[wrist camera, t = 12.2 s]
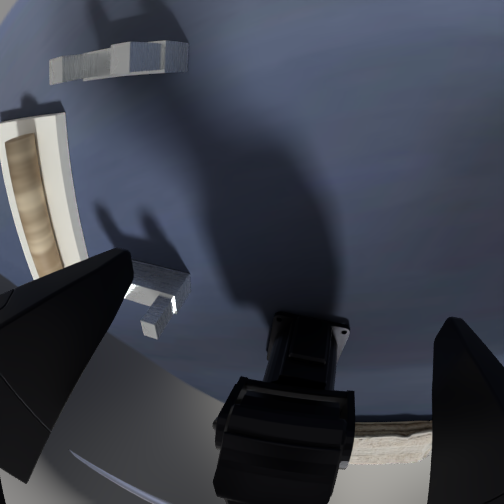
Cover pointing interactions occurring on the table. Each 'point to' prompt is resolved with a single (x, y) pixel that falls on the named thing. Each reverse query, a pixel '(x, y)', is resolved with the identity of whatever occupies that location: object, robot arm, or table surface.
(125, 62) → the aluminium cradles
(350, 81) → the table surface
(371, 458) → the washcloth
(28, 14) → the table surface
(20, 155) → the beech dowel
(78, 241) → the cutting board
